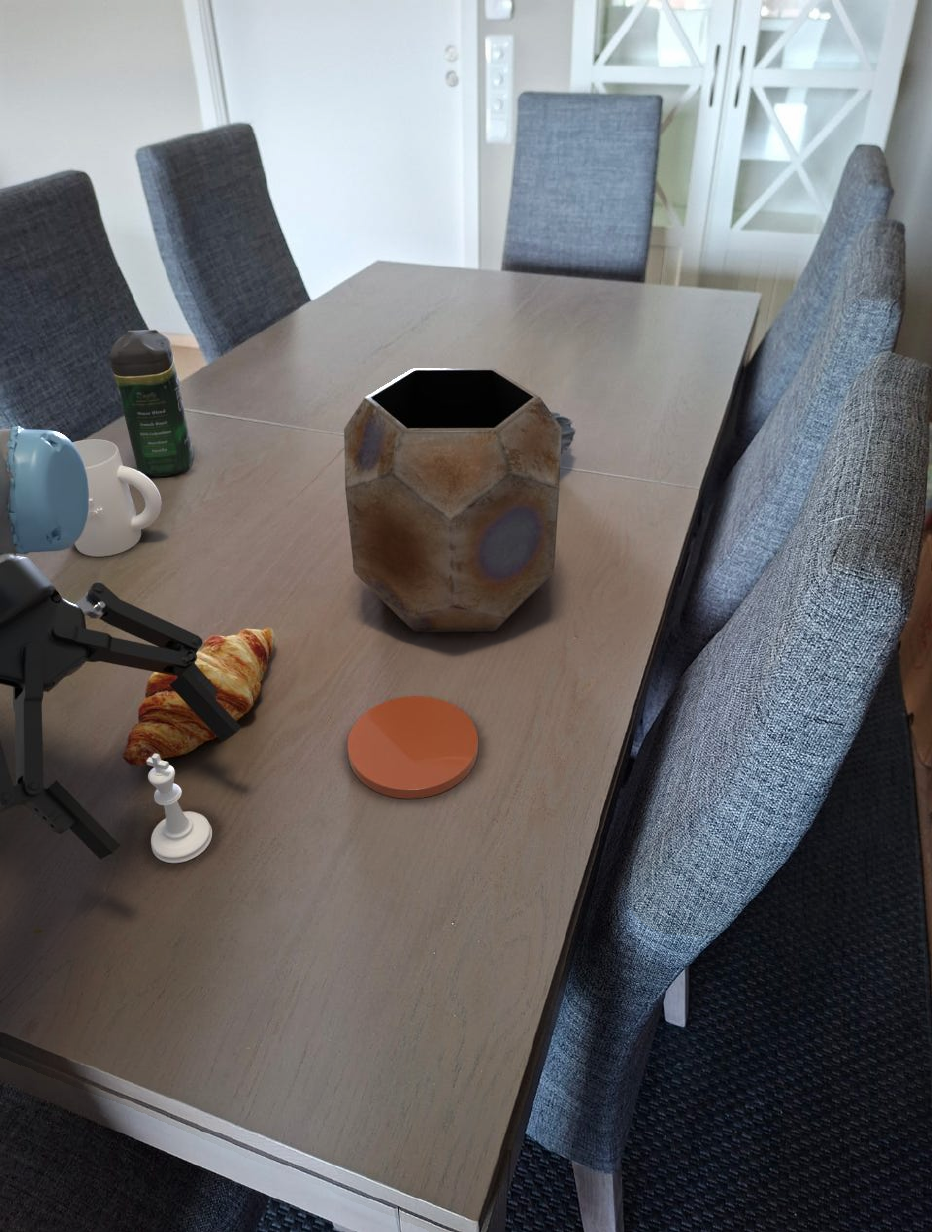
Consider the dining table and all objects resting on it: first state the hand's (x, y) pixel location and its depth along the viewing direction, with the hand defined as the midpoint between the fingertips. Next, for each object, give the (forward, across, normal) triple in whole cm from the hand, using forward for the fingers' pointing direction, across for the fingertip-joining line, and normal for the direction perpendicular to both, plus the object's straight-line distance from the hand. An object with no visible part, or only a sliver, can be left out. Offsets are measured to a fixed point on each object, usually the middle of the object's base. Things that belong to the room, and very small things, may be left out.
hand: (175, 790), depth 69 cm
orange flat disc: (+12, -18, +3) cm, 22 cm away
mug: (-24, -32, -33) cm, 52 cm away
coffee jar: (-31, -51, -40) cm, 72 cm away
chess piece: (+4, 0, -6) cm, 7 cm away
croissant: (-2, -14, -12) cm, 18 cm away
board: (0, -73, -10) cm, 74 cm away
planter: (+7, -42, -3) cm, 42 cm away
